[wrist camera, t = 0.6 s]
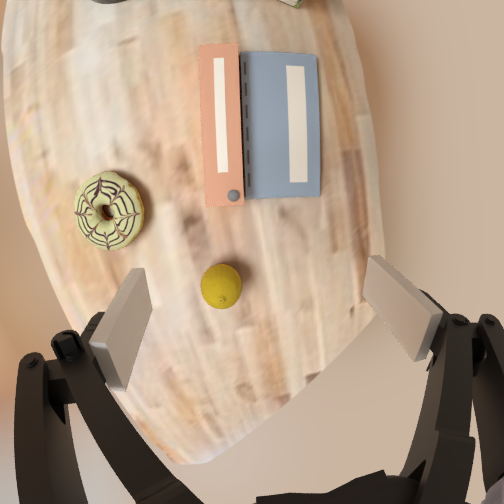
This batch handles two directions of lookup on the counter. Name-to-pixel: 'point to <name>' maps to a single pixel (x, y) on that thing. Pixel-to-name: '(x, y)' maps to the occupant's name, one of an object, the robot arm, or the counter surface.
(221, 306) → the lemon
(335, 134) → the counter surface
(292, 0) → the syrup box
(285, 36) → the counter surface
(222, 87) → the pink rectangular bar
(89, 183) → the decorated donut
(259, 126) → the board
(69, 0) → the counter surface
